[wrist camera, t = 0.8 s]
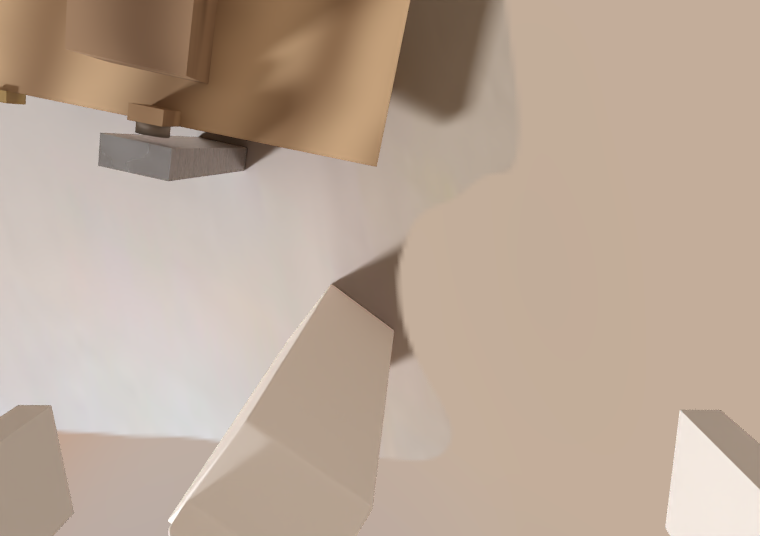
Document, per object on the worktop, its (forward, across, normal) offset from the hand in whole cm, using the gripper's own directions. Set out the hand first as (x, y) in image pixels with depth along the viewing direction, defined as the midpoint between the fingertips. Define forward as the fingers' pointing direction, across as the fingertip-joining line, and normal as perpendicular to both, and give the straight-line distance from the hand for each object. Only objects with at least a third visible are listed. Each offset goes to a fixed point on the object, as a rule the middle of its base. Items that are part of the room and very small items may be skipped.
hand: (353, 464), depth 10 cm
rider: (+18, -12, +13) cm, 25 cm away
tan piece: (+24, -12, +13) cm, 30 cm away
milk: (+26, -5, -7) cm, 27 cm away
